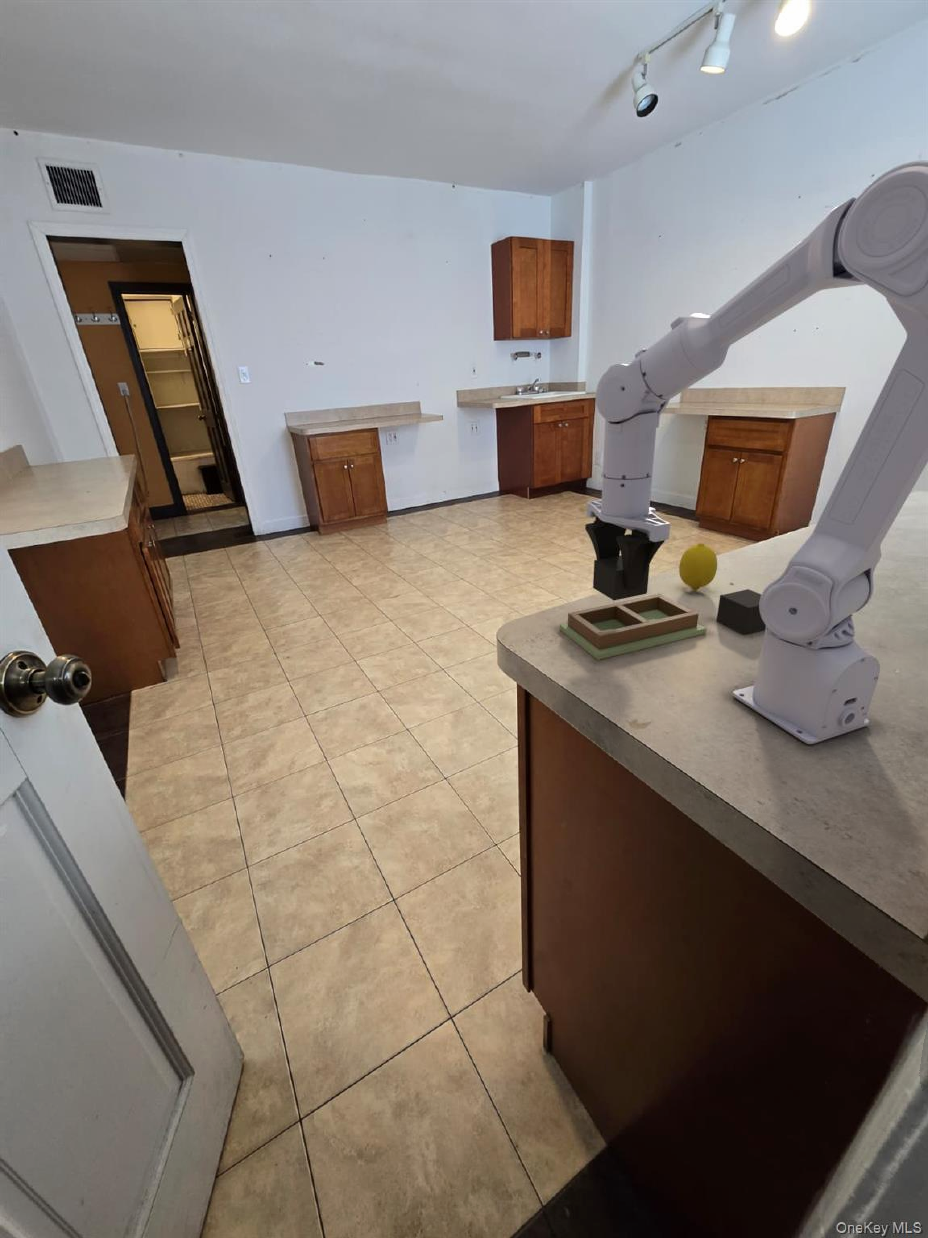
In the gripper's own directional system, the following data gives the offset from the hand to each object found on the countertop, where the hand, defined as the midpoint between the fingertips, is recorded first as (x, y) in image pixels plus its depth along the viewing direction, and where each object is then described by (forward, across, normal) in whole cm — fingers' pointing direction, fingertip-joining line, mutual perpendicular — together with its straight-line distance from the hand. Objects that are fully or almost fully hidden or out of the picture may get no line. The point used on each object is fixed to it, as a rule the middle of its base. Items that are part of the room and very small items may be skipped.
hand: (620, 581), depth 67 cm
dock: (+8, +1, -3) cm, 9 cm away
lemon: (+8, +9, -21) cm, 24 cm away
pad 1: (+1, 0, 0) cm, 1 cm away
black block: (+8, -4, -18) cm, 20 cm away
